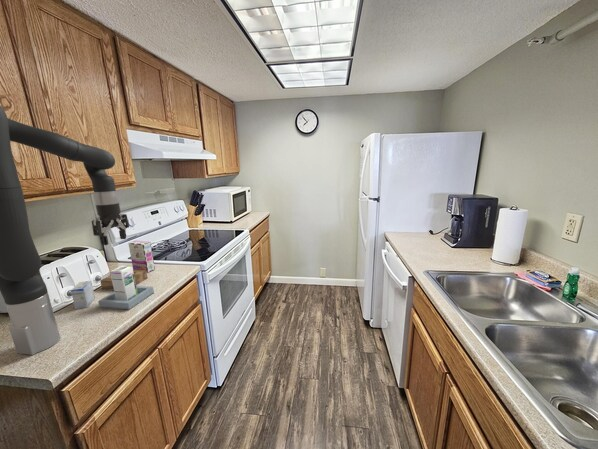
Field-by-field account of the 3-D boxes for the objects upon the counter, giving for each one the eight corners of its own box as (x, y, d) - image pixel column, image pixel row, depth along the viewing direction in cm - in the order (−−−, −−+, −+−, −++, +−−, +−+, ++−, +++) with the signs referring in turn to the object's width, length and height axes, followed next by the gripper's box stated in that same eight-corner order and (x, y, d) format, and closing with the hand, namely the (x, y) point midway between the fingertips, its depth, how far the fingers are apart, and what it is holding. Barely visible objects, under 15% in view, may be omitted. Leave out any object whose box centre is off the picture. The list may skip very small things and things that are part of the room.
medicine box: (83, 300, 110) (78, 282, 108) (95, 298, 112) (91, 280, 110) (75, 309, 103) (70, 290, 101) (88, 307, 105) (83, 288, 103)
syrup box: (127, 303, 106) (121, 271, 103) (115, 302, 107) (109, 270, 104) (138, 296, 112) (132, 265, 108) (127, 295, 113) (121, 265, 109)
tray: (129, 309, 102) (128, 303, 101) (99, 307, 104) (98, 301, 104) (153, 292, 116) (152, 286, 115) (126, 291, 118) (125, 285, 117)
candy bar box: (155, 269, 142) (151, 241, 138) (147, 273, 137) (143, 244, 133) (140, 267, 145) (136, 240, 142) (132, 270, 141) (127, 242, 137)
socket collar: (126, 290, 118) (125, 281, 117) (102, 289, 120) (100, 280, 119) (147, 278, 131) (146, 270, 130) (124, 276, 133) (123, 268, 132)
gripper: (99, 205, 93) (107, 247, 96) (130, 200, 106) (136, 237, 110) (81, 205, 94) (90, 246, 98) (114, 200, 108) (121, 236, 111)
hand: (114, 241), depth 104 cm, fingers open, 8 cm apart
